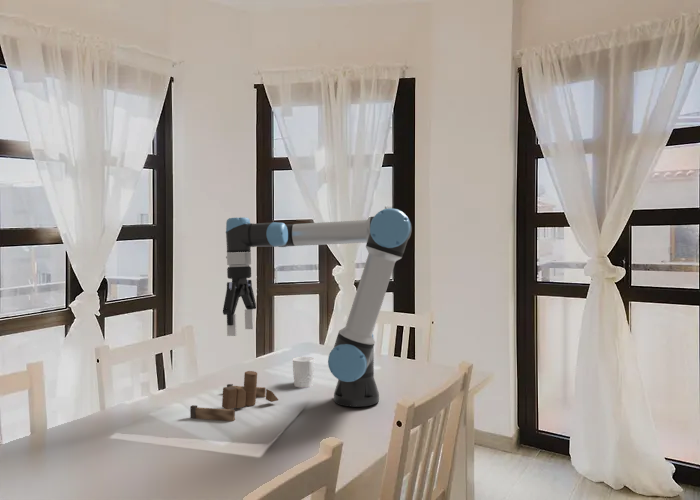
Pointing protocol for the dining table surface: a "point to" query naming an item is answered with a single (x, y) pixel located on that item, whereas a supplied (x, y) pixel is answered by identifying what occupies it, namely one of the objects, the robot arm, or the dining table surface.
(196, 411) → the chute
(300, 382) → the white cup
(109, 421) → the dining table surface
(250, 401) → the wooden block set
